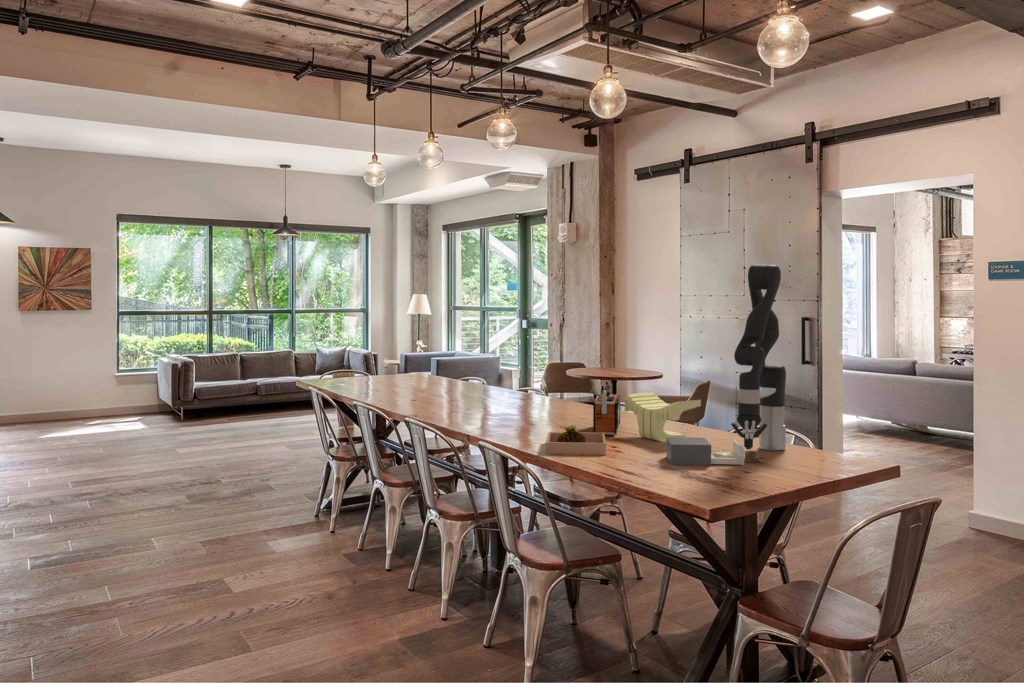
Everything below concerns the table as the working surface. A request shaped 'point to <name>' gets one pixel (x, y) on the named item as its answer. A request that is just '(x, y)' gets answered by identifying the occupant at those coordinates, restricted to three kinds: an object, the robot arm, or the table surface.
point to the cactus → (571, 435)
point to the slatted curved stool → (656, 414)
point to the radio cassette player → (606, 412)
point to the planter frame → (577, 444)
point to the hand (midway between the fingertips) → (748, 448)
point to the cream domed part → (723, 455)
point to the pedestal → (752, 456)
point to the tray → (736, 456)
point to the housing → (688, 451)
